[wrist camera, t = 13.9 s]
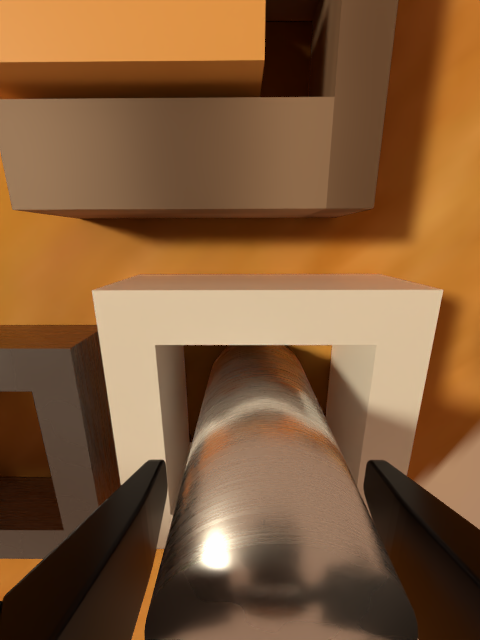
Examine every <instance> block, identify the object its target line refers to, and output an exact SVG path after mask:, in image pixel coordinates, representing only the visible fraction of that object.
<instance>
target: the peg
mask: <svg viewBox="0 0 480 640" xmlns="http://www.w3.org/2000/svg"><path fill="white" fill-rule="evenodd" d="M417 639H418V624H417V620H416V616H415V612H414V610H413V608H412V606H411V603H410V601H409V599H408V597H407V595H406V592H405V590H404V588H403V586H402V584H401V582H400V579H399V577H398V575H397V573H396V571H395V568H394V566H393V564H392V562H391V560H390V558H389V555H388V553H387V551H386V549H385V547H384V544H383V542H382V540H381V538H380V536H379V534H378V531H377V529H376V527H375V525H374V523H373V520H372V518H371V516H370V514H369V512H368V510H367V507H366V505H365V503H364V501H363V499H362V496H361V494H360V492H359V490H358V488H357V485H356V483H355V481H354V479H353V477H352V475H351V472H350V470H349V468H348V466H347V464H346V461H345V459H344V457H343V455H342V453H341V451H340V448H339V446H338V444H337V442H336V440H335V437H334V435H333V433H332V431H331V429H330V427H329V424H328V422H327V420H326V418H325V416H324V413H323V411H322V409H321V407H320V405H319V403H318V400H317V398H316V396H315V394H314V392H313V389H312V387H311V385H310V383H309V381H308V379H307V376H306V374H305V372H304V370H303V368H302V366H301V363H300V361H299V360H298V358H297V357H296V355H295V354H294V353H293V352H292V351H291V350H290V349H289V348H287V347H286V346H284V345H230V346H229V347H227V348H226V349H225V350H223V351H222V352H221V354H220V355H219V356H218V357H217V359H216V360H215V362H214V364H213V366H212V369H211V372H210V376H209V380H208V383H207V387H206V391H205V395H204V399H203V403H202V407H201V410H200V414H199V418H198V422H197V426H196V430H195V433H194V437H193V441H192V445H191V449H190V453H189V457H188V460H187V464H186V468H185V472H184V476H183V480H182V484H181V487H180V491H179V495H178V499H177V503H176V507H175V511H174V514H173V518H172V522H171V526H170V530H169V534H168V538H167V541H166V545H165V549H164V553H163V557H162V561H161V564H160V568H159V572H158V576H157V580H156V584H155V588H154V591H153V595H152V599H151V603H150V607H149V611H148V615H147V618H146V624H145V640H417Z"/></svg>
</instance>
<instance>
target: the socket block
mask: <svg viewBox="0 0 480 640" xmlns="http://www.w3.org/2000/svg"><path fill="white" fill-rule="evenodd" d="M0 391H32V394H33V398H34V402H35V407H36V411H37V415H38V420H39V424H40V428H41V433H42V437H43V441H44V446H45V450H46V454H47V459H48V463H49V467H50V472H51V476H52V477H0V558H8V559H44V558H45V557H46V556H47V555H48V554H49V553H50V552H51V551H52V550H53V549H55V548H56V547H57V546H58V545H59V544H60V543H61V542H62V541H63V540H64V539H65V538H66V537H67V536H68V535H69V534H70V533H71V532H73V531H74V530H75V529H76V528H77V527H78V526H79V525H80V524H81V523H82V522H83V521H84V520H85V519H86V518H87V517H88V516H89V515H90V514H92V513H93V512H94V511H95V510H96V509H97V508H98V507H99V506H100V505H101V504H102V503H103V502H104V501H105V500H106V499H107V498H108V497H109V496H111V495H112V494H113V493H114V492H115V491H116V490H117V489H118V488H119V487H120V486H121V483H120V476H119V469H118V462H117V456H116V449H115V442H114V436H113V429H112V422H111V415H110V409H109V402H108V395H107V388H106V382H105V375H104V368H103V362H102V355H101V348H100V341H99V335H98V328H97V325H0Z"/></svg>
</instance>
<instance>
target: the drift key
mask: <svg viewBox="0 0 480 640" xmlns="http://www.w3.org/2000/svg"><path fill="white" fill-rule="evenodd" d="M265 5H266V0H0V99H91V98H234V97H260V93H261V85H262V77H263V69H264V61H265Z"/></svg>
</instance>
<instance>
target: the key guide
mask: <svg viewBox="0 0 480 640" xmlns="http://www.w3.org/2000/svg"><path fill="white" fill-rule="evenodd" d="M397 8H398V0H266V5H265V21H312V40H311V58H310V77H309V95H308V97H234V98H91V99H0V152H1V157H2V162H3V166H4V171H5V176H6V181H7V186H8V190H9V195H10V200H11V205H12V209H13V210H19V211H26V212H34V213H41V214H49V215H56V216H64V217H71V218H336V217H340V216H344V215H348V214H352V213H356V212H360V211H364V210H369V209H373V208H374V201H375V193H376V184H377V176H378V168H379V159H380V151H381V142H382V134H383V126H384V117H385V109H386V100H387V92H388V83H389V75H390V67H391V58H392V50H393V41H394V33H395V25H396V16H397Z"/></svg>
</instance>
